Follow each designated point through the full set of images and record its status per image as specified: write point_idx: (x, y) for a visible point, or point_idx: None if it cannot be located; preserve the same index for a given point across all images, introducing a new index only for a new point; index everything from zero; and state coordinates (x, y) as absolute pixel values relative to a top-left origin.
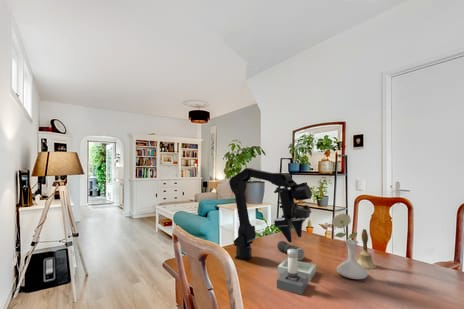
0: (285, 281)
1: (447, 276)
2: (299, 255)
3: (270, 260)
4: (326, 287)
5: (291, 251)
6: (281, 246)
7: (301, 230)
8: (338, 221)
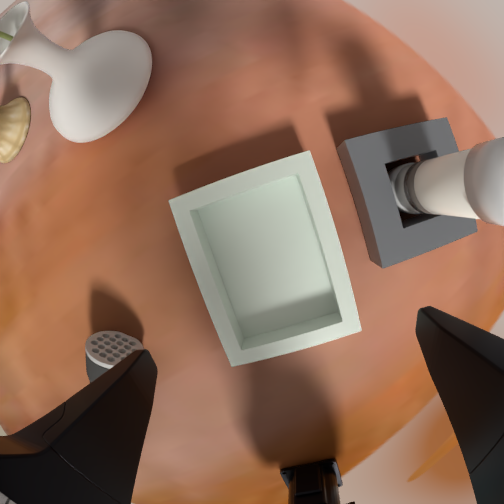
0: None
1: None
2: (120, 346)
3: (249, 418)
4: (293, 81)
5: None
6: None
7: (87, 390)
8: None
